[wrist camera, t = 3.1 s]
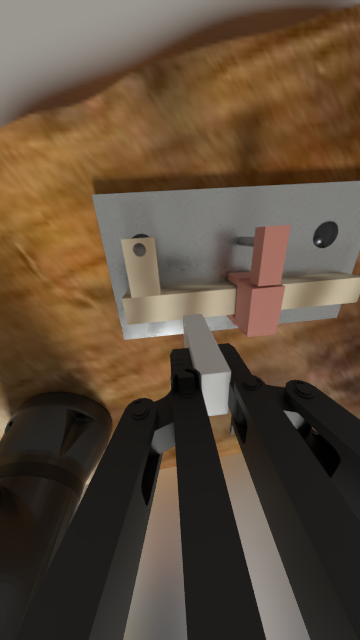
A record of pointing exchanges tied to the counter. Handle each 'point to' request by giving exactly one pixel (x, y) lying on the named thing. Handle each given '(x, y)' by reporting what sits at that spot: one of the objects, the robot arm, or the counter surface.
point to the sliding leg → (261, 282)
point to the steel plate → (230, 238)
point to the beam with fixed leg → (215, 290)
